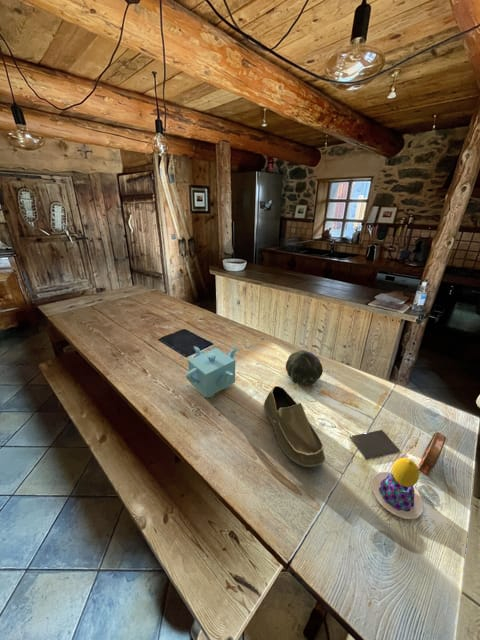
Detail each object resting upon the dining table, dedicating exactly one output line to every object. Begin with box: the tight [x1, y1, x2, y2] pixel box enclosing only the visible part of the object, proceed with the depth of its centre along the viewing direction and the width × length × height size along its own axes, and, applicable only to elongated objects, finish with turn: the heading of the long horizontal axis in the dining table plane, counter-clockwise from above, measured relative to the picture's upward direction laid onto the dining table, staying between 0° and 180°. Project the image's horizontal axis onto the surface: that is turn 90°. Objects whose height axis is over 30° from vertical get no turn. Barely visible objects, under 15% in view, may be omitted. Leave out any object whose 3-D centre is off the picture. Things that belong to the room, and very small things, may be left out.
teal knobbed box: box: [185, 345, 239, 398], centre depth 105 cm, size 19×19×15 cm
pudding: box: [371, 471, 424, 520], centre depth 69 cm, size 12×12×5 cm
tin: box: [417, 430, 447, 477], centre depth 77 cm, size 15×3×8 cm, turn 135°
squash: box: [285, 349, 324, 386], centre depth 110 cm, size 14×15×15 cm
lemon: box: [391, 457, 420, 487], centre depth 66 cm, size 6×6×8 cm
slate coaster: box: [349, 429, 401, 460], centre depth 84 cm, size 12×8×1 cm, turn 103°
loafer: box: [263, 385, 326, 468], centre depth 85 cm, size 11×30×10 cm, turn 23°
